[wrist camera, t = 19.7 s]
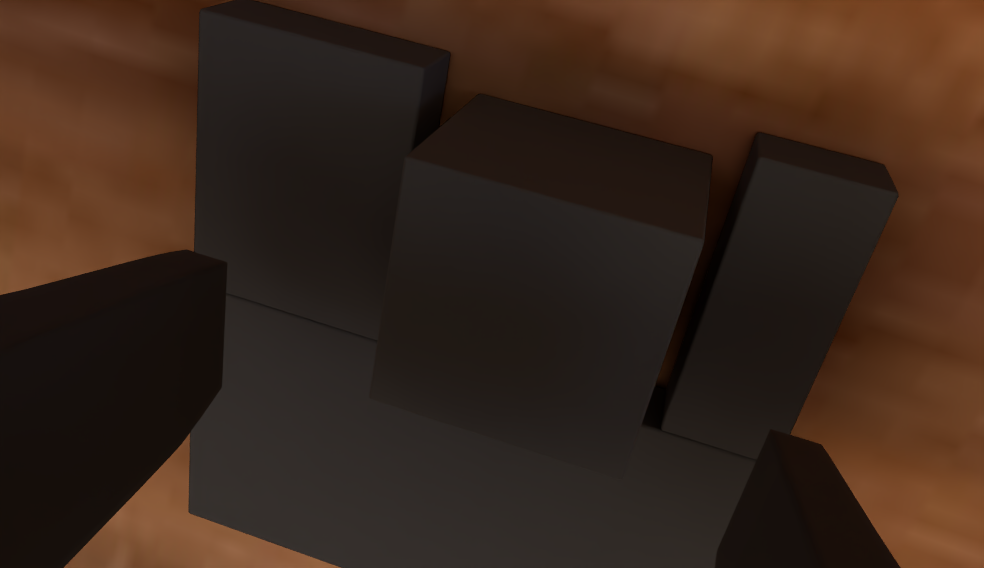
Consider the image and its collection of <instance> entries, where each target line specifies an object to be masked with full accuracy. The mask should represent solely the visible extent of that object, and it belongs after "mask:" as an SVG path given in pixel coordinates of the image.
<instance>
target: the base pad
mask: <svg viewBox="0 0 984 568" xmlns="http://www.w3.org/2000/svg"><path fill="white" fill-rule="evenodd" d="M449 60H450V53H449V52H448V51H445V50H441V49H437V48H433V47H429V46H425V45H422V44H418V43H414V42H410V41H406V40H402V39H398V38H395V37H391V36H387V35H383V34H379V33H375V32H372V31H368V30H364V29H360V28H356V27H352V26H349V25H345V24H341V23H337V22H333V21H329V20H325V19H322V18H318V17H314V16H310V15H306V14H302V13H299V12H295V11H291V10H287V9H283V8H279V7H275V6H272V5H268V4H264V3H260V2H256V1H252V0H234V1H230V2H227V3H223V4H219V5H215V6H211V7H207V8H203V9H201V10H200V15H199V59H198V104H197V148H196V193H195V238H194V252H196V253H199V254H202V255H205V256H209V257H212V258H215V259H218V260H222V261H225V262H227V284H226V307H225V330H224V354H223V377H222V388H221V390H220V391H219V392H218V394H217V395H216V397H215V398H214V400H213V401H212V403H211V404H210V405H209V407H208V408H207V410H206V411H205V413H204V414H203V416H202V417H201V418H200V420H199V421H198V422H197V424H196V425H195V426H194V428H193V429H192V431H191V432H190V467H189V513H190V514H193V515H196V516H199V517H201V518H204V519H207V520H210V521H213V522H215V523H218V524H221V525H224V526H227V527H229V528H232V529H235V530H238V531H241V532H243V533H246V534H249V535H252V536H255V537H257V538H260V539H263V540H266V541H269V542H271V543H274V544H277V545H280V546H283V547H285V548H288V549H291V550H294V551H296V552H299V553H302V554H305V555H308V556H310V557H313V558H316V559H319V560H322V561H324V562H327V563H330V564H333V565H336V566H338V567H341V568H715V562H716V554H717V549H718V547H719V545H720V542H721V540H722V538H723V536H724V533H725V531H726V529H727V526H728V524H729V522H730V520H731V517H732V515H733V513H734V511H735V508H736V506H737V504H738V502H739V499H740V497H741V495H742V492H743V490H744V488H745V486H746V483H747V481H748V479H749V477H750V474H751V472H752V470H753V467H754V465H755V463H756V461H757V458H758V456H759V454H760V452H761V449H762V447H763V445H764V442H765V440H766V438H767V436H768V433H769V431H770V429H773V430H776V431H779V432H782V433H786V434H789V435H790V433H791V431H792V429H793V427H794V424H795V422H796V420H797V418H798V416H799V413H800V411H801V409H802V407H803V405H804V402H805V400H806V398H807V396H808V394H809V392H810V389H811V387H812V385H813V383H814V381H815V378H816V376H817V374H818V372H819V370H820V367H821V365H822V363H823V361H824V359H825V356H826V354H827V352H828V350H829V348H830V345H831V343H832V341H833V339H834V337H835V334H836V332H837V330H838V328H839V326H840V323H841V321H842V319H843V317H844V315H845V313H846V310H847V308H848V306H849V304H850V302H851V299H852V297H853V295H854V293H855V291H856V288H857V286H858V284H859V282H860V280H861V277H862V275H863V273H864V271H865V269H866V266H867V264H868V262H869V260H870V258H871V255H872V253H873V251H874V249H875V247H876V244H877V242H878V240H879V238H880V236H881V234H882V231H883V229H884V227H885V225H886V223H887V220H888V218H889V216H890V214H891V212H892V209H893V207H894V205H895V203H896V201H897V198H898V191H897V189H896V187H895V185H894V183H893V181H892V179H891V177H890V175H889V173H888V171H887V169H886V167H885V166H884V165H883V164H879V163H875V162H871V161H867V160H863V159H860V158H856V157H852V156H848V155H844V154H840V153H837V152H833V151H829V150H825V149H821V148H817V147H813V146H810V145H806V144H802V143H798V142H794V141H790V140H787V139H783V138H779V137H775V136H771V135H767V134H764V133H757V135H756V137H755V139H754V142H753V145H752V148H751V151H750V153H749V156H748V159H747V162H746V165H745V168H744V170H743V173H742V176H741V179H740V182H739V185H738V187H737V190H736V193H735V196H734V199H733V201H732V204H731V207H730V210H729V213H728V216H727V218H726V221H725V224H724V227H723V230H722V232H721V235H720V238H719V241H718V244H717V247H716V249H715V252H714V255H713V258H712V261H711V263H710V266H709V269H708V272H707V275H706V278H705V280H704V283H703V286H702V289H701V292H700V295H699V297H698V300H697V303H696V306H695V309H694V311H693V314H692V317H691V320H690V323H689V326H688V328H687V331H686V334H685V337H684V340H683V342H682V345H681V348H680V351H679V354H678V357H677V359H676V362H675V365H674V368H673V371H672V373H671V376H670V379H669V382H668V385H667V388H666V390H665V389H662V388H658V387H654V390H653V393H652V396H651V398H650V401H649V404H648V407H647V410H646V413H645V416H644V419H643V422H642V424H641V427H640V430H639V433H638V436H637V439H636V442H635V445H634V448H633V450H632V453H631V456H630V459H629V462H628V465H627V468H626V471H625V474H624V476H623V478H622V479H621V480H617V479H614V478H611V477H608V476H605V475H602V474H598V473H595V472H592V471H589V470H586V469H583V468H580V467H577V466H574V465H571V464H568V463H565V462H562V461H559V460H555V459H552V458H549V457H546V456H543V455H540V454H537V453H534V452H531V451H528V450H525V449H522V448H519V447H515V446H512V445H509V444H506V443H503V442H500V441H497V440H494V439H491V438H488V437H485V436H482V435H479V434H476V433H472V432H469V431H466V430H463V429H460V428H457V427H454V426H451V425H448V424H445V423H442V422H439V421H436V420H433V419H429V418H426V417H423V416H420V415H417V414H414V413H411V412H408V411H405V410H402V409H399V408H396V407H393V406H390V405H386V404H383V403H380V402H377V401H374V400H371V399H370V397H369V395H370V388H371V381H372V374H373V368H374V361H375V354H376V347H377V341H378V334H379V327H380V320H381V313H382V307H383V300H384V293H385V286H386V280H387V273H388V266H389V259H390V253H391V246H392V239H393V232H394V225H395V219H396V212H397V205H398V198H399V192H400V185H401V178H402V171H403V165H404V158H405V157H406V156H407V155H408V154H409V153H410V152H411V151H413V150H414V149H415V148H416V147H417V146H418V145H420V144H421V143H422V142H423V141H424V140H425V139H427V138H428V137H429V136H430V135H431V134H432V133H434V132H435V131H436V130H437V129H438V126H439V120H440V114H441V108H442V102H443V96H444V90H445V84H446V78H447V72H448V66H449Z"/></svg>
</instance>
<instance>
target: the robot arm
mask: <svg viewBox="0 0 984 568" xmlns="http://www.w3.org/2000/svg"><path fill="white" fill-rule="evenodd" d="M226 284H227V262H225V261H222V260H218V259H215V258H212V257H209V256H205V255H202V254H199V253H196V252H192V251H189V250H181V251H175V252H169V253H164V254H159V255H155V256H151V257H146V258H142V259H138V260H134V261H131V262H127V263H123V264H119V265H115V266H112V267H108V268H104V269H100V270H97V271H93V272H89V273H85V274H82V275H78V276H74V277H70V278H67V279H63V280H59V281H55V282H52V283H48V284H44V285H40V286H36V287H33V288H29V289H25V290H21V291H16V292H12V293H8V294H3V295H0V568H64V567H65V565H66V564H67V563H68V562H69V561H70V560H71V559H72V558H73V557H74V556H75V555H76V554H77V553H78V552H79V551H80V550H81V549H82V548H83V547H84V546H85V545H86V544H87V543H88V542H89V541H90V540H91V539H92V538H93V536H94V535H95V534H96V533H97V532H98V531H99V530H100V529H101V528H102V527H103V526H104V525H105V524H106V523H107V522H108V521H109V520H110V519H111V518H112V517H113V516H114V515H115V514H116V513H117V512H118V511H119V510H120V509H121V507H122V506H123V505H124V504H125V503H126V502H127V501H128V500H129V499H130V498H131V497H132V496H133V495H134V494H135V493H136V492H137V491H138V490H139V489H140V488H141V487H142V486H143V485H144V484H145V483H146V481H147V480H148V479H149V478H150V477H151V476H152V475H153V474H154V473H155V472H156V471H157V470H158V469H159V468H160V467H161V466H162V465H163V463H164V462H165V461H166V460H167V459H168V458H169V457H170V456H171V455H172V454H173V453H174V452H175V451H176V449H177V448H178V447H179V446H180V445H181V444H182V443H183V441H184V440H185V439H186V437H187V436H188V435H189V433H190V432H191V431H192V429H193V428H194V426H195V425H196V424H197V422H198V421H199V420H200V418H201V417H202V416H203V414H204V413H205V411H206V410H207V408H208V407H209V405H210V404H211V403H212V401H213V400H214V398H215V397H216V395H217V394H218V392H219V391H220V390H221V388H222V377H223V354H224V330H225V307H226ZM715 568H900V566H899V565H898V563H897V562H896V560H895V559H894V557H893V556H892V554H891V553H890V551H889V550H888V548H887V547H886V545H885V544H884V542H883V540H882V539H881V537H880V536H879V534H878V533H877V531H876V530H875V528H874V527H873V525H872V523H871V522H870V520H869V519H868V517H867V515H866V514H865V512H864V511H863V509H862V507H861V506H860V504H859V503H858V501H857V500H856V498H855V496H854V495H853V493H852V492H851V490H850V488H849V487H848V485H847V483H846V482H845V480H844V479H843V477H842V475H841V474H840V472H839V471H838V469H837V467H836V466H835V464H834V463H833V461H832V459H831V458H830V456H829V455H828V453H827V452H826V450H825V449H824V447H823V446H822V445H821V444H818V443H815V442H812V441H808V440H805V439H802V438H799V437H795V436H792V435H789V434H786V433H782V432H779V431H776V430H773V429H770V431H769V433H768V436H767V438H766V440H765V442H764V445H763V447H762V449H761V452H760V454H759V456H758V458H757V461H756V463H755V465H754V467H753V470H752V472H751V474H750V477H749V479H748V481H747V483H746V486H745V488H744V490H743V492H742V495H741V497H740V499H739V502H738V504H737V506H736V508H735V511H734V513H733V515H732V517H731V520H730V522H729V524H728V526H727V529H726V531H725V533H724V536H723V538H722V540H721V542H720V545H719V547H718V549H717V554H716V562H715Z"/></svg>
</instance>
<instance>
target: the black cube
mask: <svg viewBox="0 0 984 568" xmlns="http://www.w3.org/2000/svg"><path fill="white" fill-rule="evenodd" d="M712 160H713V158H712V156H711V155H709V154H705V153H701V152H698V151H694V150H690V149H686V148H683V147H679V146H675V145H671V144H667V143H664V142H660V141H656V140H652V139H649V138H645V137H641V136H637V135H634V134H630V133H626V132H622V131H619V130H615V129H611V128H607V127H604V126H600V125H596V124H592V123H588V122H585V121H581V120H577V119H573V118H570V117H566V116H562V115H558V114H555V113H551V112H547V111H543V110H540V109H536V108H532V107H528V106H525V105H521V104H517V103H513V102H510V101H506V100H502V99H498V98H494V97H491V96H487V95H483V94H478V95H477V96H476V97H475V98H473V99H472V100H471V101H470V102H469V103H468V104H466V105H465V106H464V107H463V108H462V109H461V110H459V111H458V112H457V113H456V114H455V115H453V116H452V117H451V118H450V119H449V120H448V121H446V122H445V123H444V124H443V125H442V126H441V127H439V128H438V129H437V130H436V131H435V132H434V133H432V134H431V135H430V136H429V137H428V138H427V139H425V140H424V141H423V142H422V143H421V144H420V145H418V146H417V147H416V148H415V149H414V150H413V151H411V152H410V153H409V154H408V155H407V156H406V157H405V158H404V165H403V171H402V178H401V185H400V192H399V198H398V205H397V212H396V219H395V225H394V232H393V239H392V246H391V253H390V259H389V266H388V273H387V280H386V286H385V293H384V300H383V307H382V313H381V320H380V327H379V334H378V341H377V347H376V354H375V361H374V368H373V374H372V381H371V388H370V395H369V397H370V399H371V400H374V401H377V402H380V403H383V404H386V405H390V406H393V407H396V408H399V409H402V410H405V411H408V412H411V413H414V414H417V415H420V416H423V417H426V418H429V419H433V420H436V421H439V422H442V423H445V424H448V425H451V426H454V427H457V428H460V429H463V430H466V431H469V432H472V433H476V434H479V435H482V436H485V437H488V438H491V439H494V440H497V441H500V442H503V443H506V444H509V445H512V446H515V447H519V448H522V449H525V450H528V451H531V452H534V453H537V454H540V455H543V456H546V457H549V458H552V459H555V460H559V461H562V462H565V463H568V464H571V465H574V466H577V467H580V468H583V469H586V470H589V471H592V472H595V473H598V474H602V475H605V476H608V477H611V478H614V479H617V480H621V479H622V478H623V476H624V474H625V471H626V468H627V465H628V462H629V459H630V456H631V453H632V450H633V448H634V445H635V442H636V439H637V436H638V433H639V430H640V427H641V424H642V422H643V419H644V416H645V413H646V410H647V407H648V404H649V401H650V398H651V396H652V393H653V390H654V387H655V384H656V381H657V378H658V375H659V372H660V370H661V367H662V364H663V361H664V358H665V355H666V352H667V349H668V346H669V343H670V341H671V338H672V335H673V332H674V329H675V326H676V323H677V320H678V317H679V315H680V312H681V309H682V306H683V303H684V300H685V297H686V294H687V291H688V289H689V286H690V283H691V280H692V277H693V274H694V271H695V268H696V265H697V263H698V260H699V257H700V254H701V251H702V248H703V245H704V241H705V231H706V220H707V210H708V200H709V190H710V180H711V170H712Z"/></svg>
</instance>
